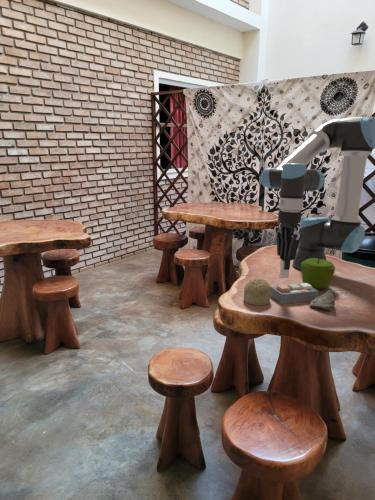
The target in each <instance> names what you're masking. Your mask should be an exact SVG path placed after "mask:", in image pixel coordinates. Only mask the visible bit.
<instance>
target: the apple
mask: <svg viewBox="0 0 375 500" xmlns="http://www.w3.org/2000/svg"><path fill="white" fill-rule="evenodd" d="M335 270H336V266H335V264H334V263H333V262H332V261H330V260H327V259H326V260H323V259H317V258H309V259H306V260H305V261H303V262H302V263H301V270H300V271H301V275H302V280H301V281H302V283H308V284H309V285H311V286H312V288H314V289H316V290H325V289H326V288H329V287H330V286H331V283H332V280H333V277H334V276H335V275H334V274H335Z"/></svg>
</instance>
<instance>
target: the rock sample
mask: <svg viewBox="0 0 375 500" xmlns="http://www.w3.org/2000/svg"><path fill="white" fill-rule="evenodd" d="M335 305H336V303H335V296H334V291H333V288H330V289H328V290H327V291H326V292H324V293H323V294H321V295H320V296H319V295H318V297H316V298H315V299H313V300H311V301H310V303H309V307H312V308H315V309H323V310H326V311H327V312H328V311H329V312H331V311H333V308H334V306H335Z"/></svg>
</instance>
